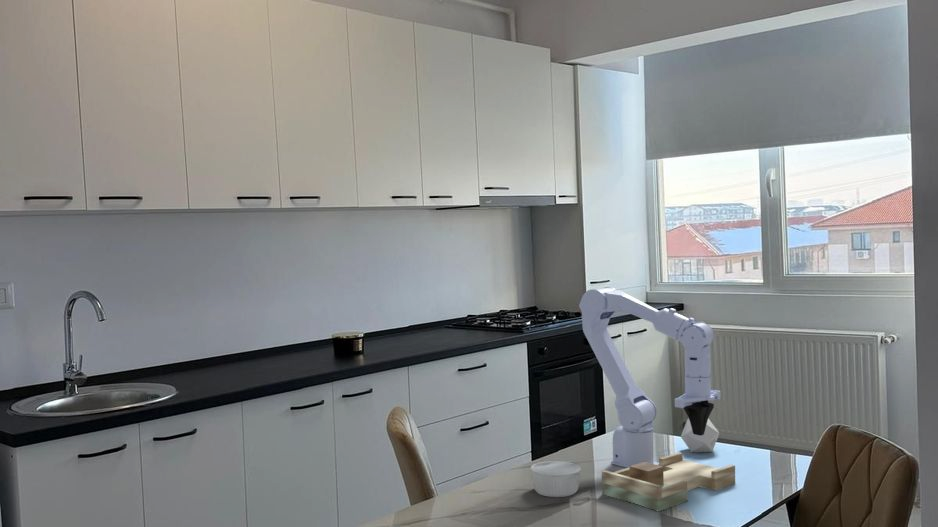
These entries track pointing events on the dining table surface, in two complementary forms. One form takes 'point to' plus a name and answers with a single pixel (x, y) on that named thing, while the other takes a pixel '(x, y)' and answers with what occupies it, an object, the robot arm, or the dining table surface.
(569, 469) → the ramekin
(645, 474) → the walnut block
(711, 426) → the die
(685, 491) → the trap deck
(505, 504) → the dining table surface
